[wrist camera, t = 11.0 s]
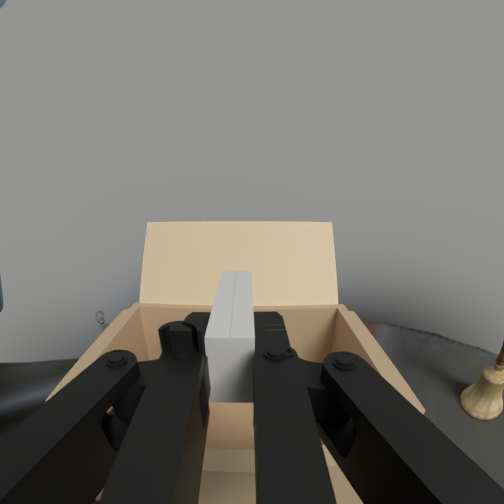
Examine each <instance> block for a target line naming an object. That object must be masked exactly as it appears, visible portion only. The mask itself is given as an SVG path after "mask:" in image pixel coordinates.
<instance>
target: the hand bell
mask: <svg viewBox="0 0 504 504" xmlns="http://www.w3.org/2000/svg"><path fill="white" fill-rule="evenodd" d="M503 368H504V342H503V346H502V349H501V351H500V353H499V356H498V358H497V360H496V362H495V365H494V366H488V367H486V368H485V369H484V371H483V373H482V374H481V376H480V377H479V379H478V380H477V381H476V383H475V384H473V385H471V386H469V387H467V388H466V389H464V390H463V392H462V393H461V396H460V403H461V406H462V407H463V409H464V410H465V411H466V412H467V413H468V414H469V415H470V416H472V417H474V418H476V419H481V420H490V419H493V418H496V417H497V416H498V415H499V414H500V413H501V411H502V409H503V399H502V392H503V388H504V370H503Z"/></svg>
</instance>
